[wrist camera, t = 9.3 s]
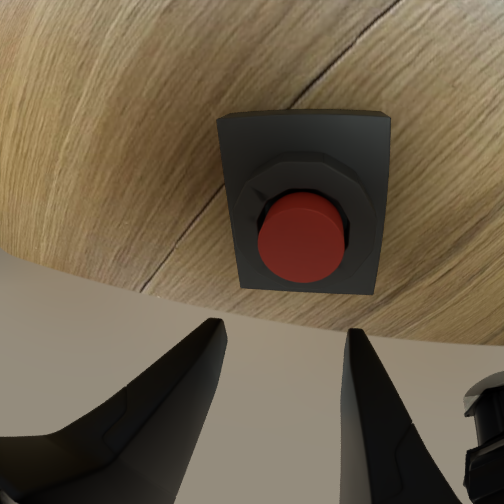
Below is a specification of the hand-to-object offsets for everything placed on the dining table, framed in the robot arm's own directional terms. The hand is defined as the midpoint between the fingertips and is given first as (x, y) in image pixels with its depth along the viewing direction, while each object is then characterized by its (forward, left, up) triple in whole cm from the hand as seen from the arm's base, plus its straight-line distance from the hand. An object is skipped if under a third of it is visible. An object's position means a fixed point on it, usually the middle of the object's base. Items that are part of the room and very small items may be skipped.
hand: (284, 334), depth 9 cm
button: (0, 0, -6) cm, 6 cm away
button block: (0, 0, -10) cm, 10 cm away
